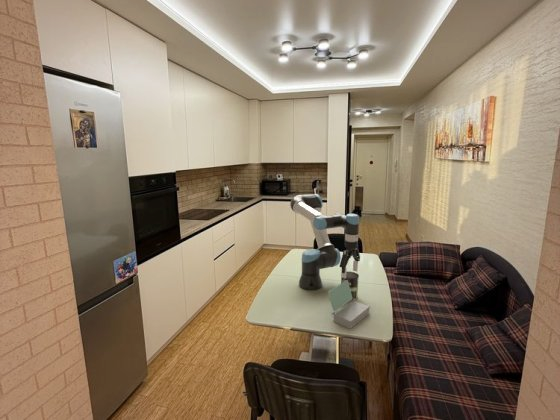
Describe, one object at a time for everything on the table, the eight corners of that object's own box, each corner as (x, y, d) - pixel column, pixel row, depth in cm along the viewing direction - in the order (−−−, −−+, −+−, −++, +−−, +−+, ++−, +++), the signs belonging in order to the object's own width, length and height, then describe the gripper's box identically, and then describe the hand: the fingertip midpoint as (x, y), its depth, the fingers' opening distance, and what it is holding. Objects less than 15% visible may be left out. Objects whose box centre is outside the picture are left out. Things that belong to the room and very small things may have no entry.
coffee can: (351, 302, 177) (352, 279, 175) (337, 296, 184) (337, 274, 182) (361, 296, 184) (362, 274, 182) (346, 291, 191) (347, 270, 189)
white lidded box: (332, 321, 157) (332, 312, 156) (352, 306, 173) (352, 298, 172) (350, 329, 150) (350, 320, 149) (369, 312, 166) (370, 304, 165)
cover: (334, 311, 157) (332, 311, 158) (352, 298, 170) (350, 298, 171) (329, 291, 157) (327, 291, 158) (347, 280, 171) (345, 280, 172)
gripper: (346, 246, 166) (344, 282, 171) (367, 237, 184) (365, 269, 189) (334, 243, 171) (332, 278, 176) (356, 234, 189) (354, 266, 194)
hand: (349, 274), depth 182 cm, fingers open, 13 cm apart
